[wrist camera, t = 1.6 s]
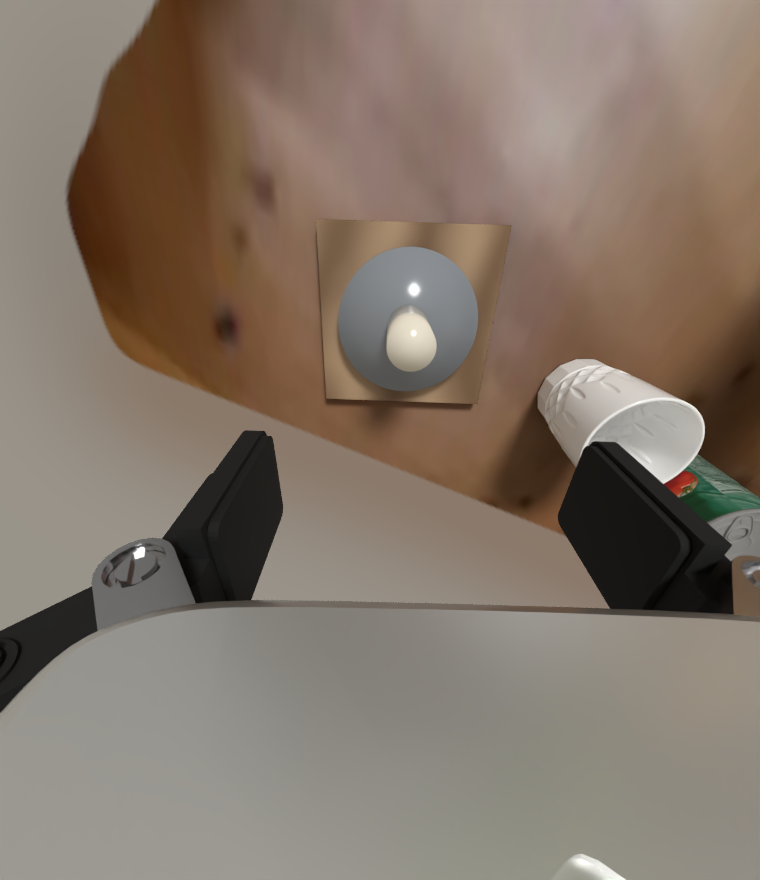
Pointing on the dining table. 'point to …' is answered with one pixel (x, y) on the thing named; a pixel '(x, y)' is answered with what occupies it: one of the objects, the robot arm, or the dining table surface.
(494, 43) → the dining table surface
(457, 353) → the lid
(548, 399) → the white cup
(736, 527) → the canned tomato
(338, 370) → the cork mat
